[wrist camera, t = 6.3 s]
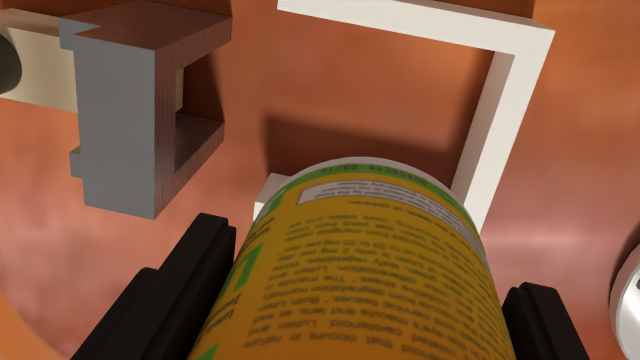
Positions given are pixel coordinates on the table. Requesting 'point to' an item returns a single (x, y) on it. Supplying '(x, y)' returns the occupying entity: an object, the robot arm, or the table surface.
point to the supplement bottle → (358, 273)
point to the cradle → (498, 92)
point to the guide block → (138, 102)
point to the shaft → (41, 62)
